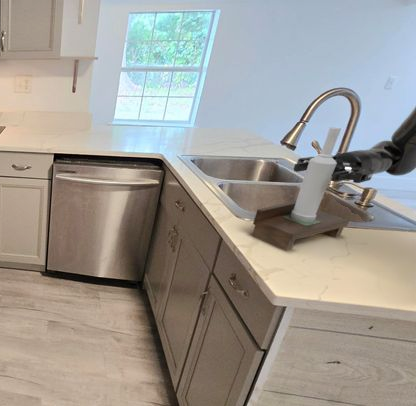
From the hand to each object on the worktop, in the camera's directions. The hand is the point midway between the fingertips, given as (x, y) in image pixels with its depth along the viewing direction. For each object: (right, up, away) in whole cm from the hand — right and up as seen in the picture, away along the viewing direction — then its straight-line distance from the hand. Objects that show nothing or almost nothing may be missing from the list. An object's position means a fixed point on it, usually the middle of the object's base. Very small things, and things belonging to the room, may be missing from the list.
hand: (314, 172), depth 94 cm
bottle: (+2, -12, +6) cm, 14 cm away
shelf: (+2, -17, +8) cm, 19 cm away
